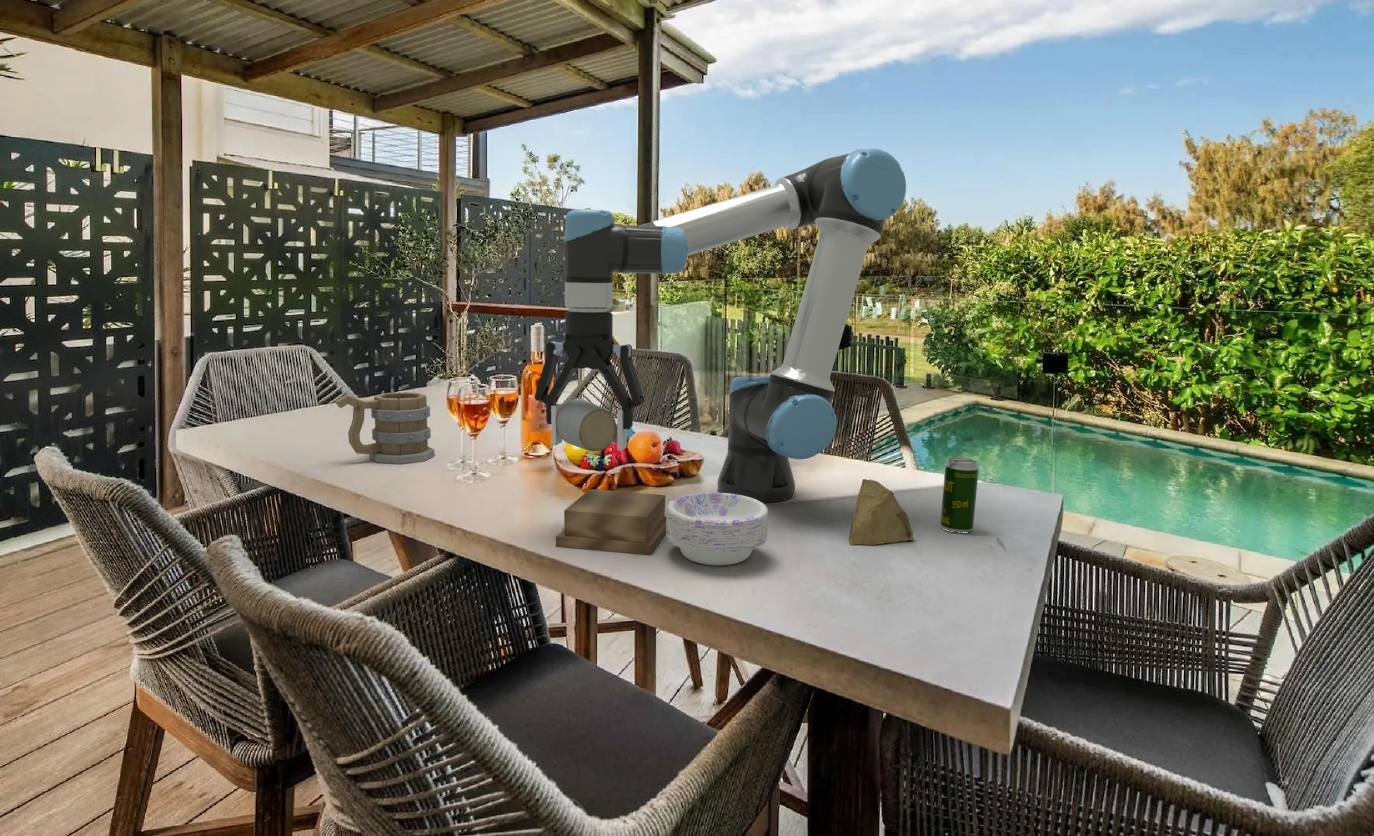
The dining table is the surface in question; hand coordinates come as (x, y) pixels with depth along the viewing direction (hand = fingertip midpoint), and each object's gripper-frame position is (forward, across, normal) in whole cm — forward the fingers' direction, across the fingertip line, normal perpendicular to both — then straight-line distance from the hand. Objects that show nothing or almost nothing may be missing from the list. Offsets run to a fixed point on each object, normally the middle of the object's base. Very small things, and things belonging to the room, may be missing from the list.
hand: (589, 446), depth 132 cm
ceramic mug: (0, 0, -1) cm, 1 cm away
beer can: (+14, -60, -18) cm, 64 cm away
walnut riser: (+14, -6, +3) cm, 15 cm away
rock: (+14, -47, -7) cm, 50 cm away
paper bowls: (+14, -23, +8) cm, 28 cm away
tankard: (+13, +59, -31) cm, 68 cm away
